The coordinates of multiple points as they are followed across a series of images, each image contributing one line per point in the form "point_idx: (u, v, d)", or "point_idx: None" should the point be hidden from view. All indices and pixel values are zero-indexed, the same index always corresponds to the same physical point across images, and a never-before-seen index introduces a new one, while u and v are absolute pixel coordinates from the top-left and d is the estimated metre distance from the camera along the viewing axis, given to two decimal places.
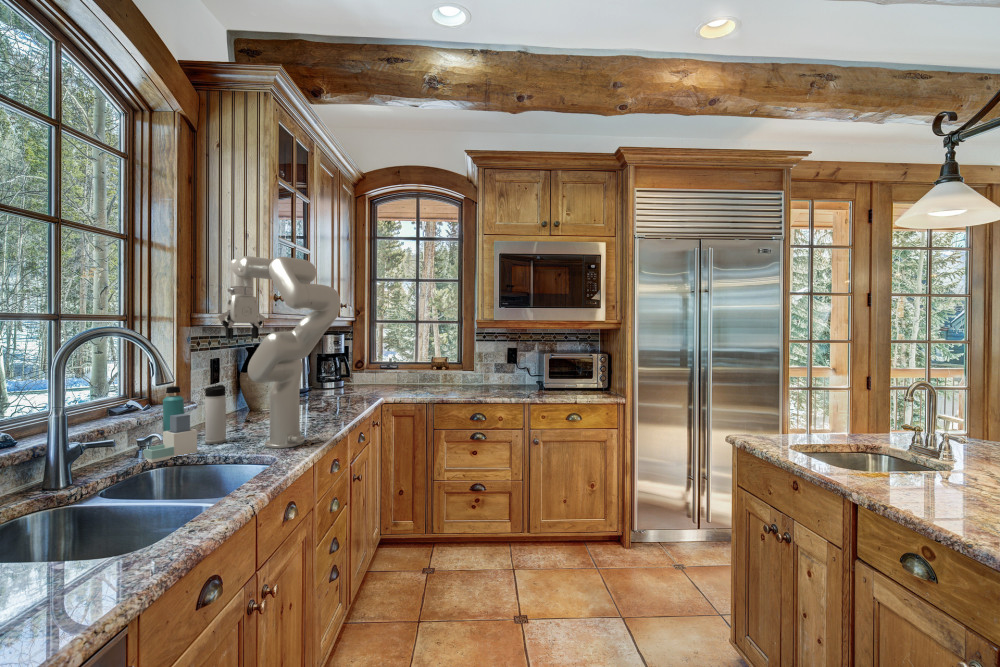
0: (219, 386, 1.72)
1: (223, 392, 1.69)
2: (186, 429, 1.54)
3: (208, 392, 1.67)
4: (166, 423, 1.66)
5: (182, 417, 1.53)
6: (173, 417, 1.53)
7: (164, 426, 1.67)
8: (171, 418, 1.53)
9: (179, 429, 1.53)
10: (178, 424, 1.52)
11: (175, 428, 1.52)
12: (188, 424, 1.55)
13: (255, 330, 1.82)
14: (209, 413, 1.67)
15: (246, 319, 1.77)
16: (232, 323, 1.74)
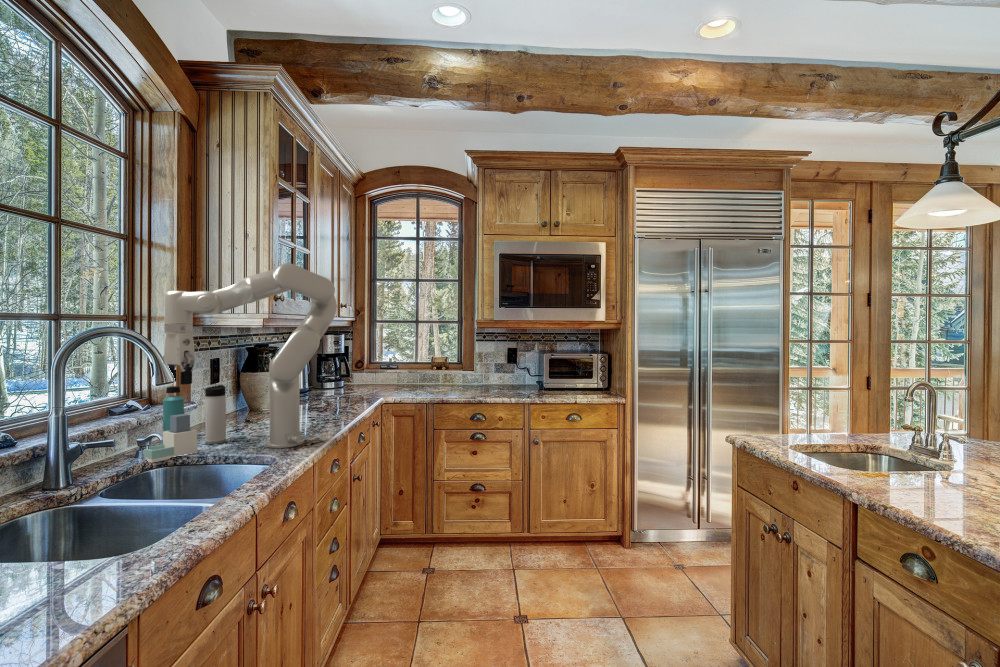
0: (219, 386, 1.72)
1: (223, 392, 1.69)
2: (186, 429, 1.54)
3: (208, 392, 1.67)
4: (166, 423, 1.66)
5: (182, 417, 1.53)
6: (173, 417, 1.53)
7: (164, 426, 1.67)
8: (171, 418, 1.53)
9: (179, 429, 1.53)
10: (178, 424, 1.52)
11: (175, 428, 1.52)
12: (188, 424, 1.55)
13: (174, 372, 1.57)
14: (209, 413, 1.67)
15: None
16: None
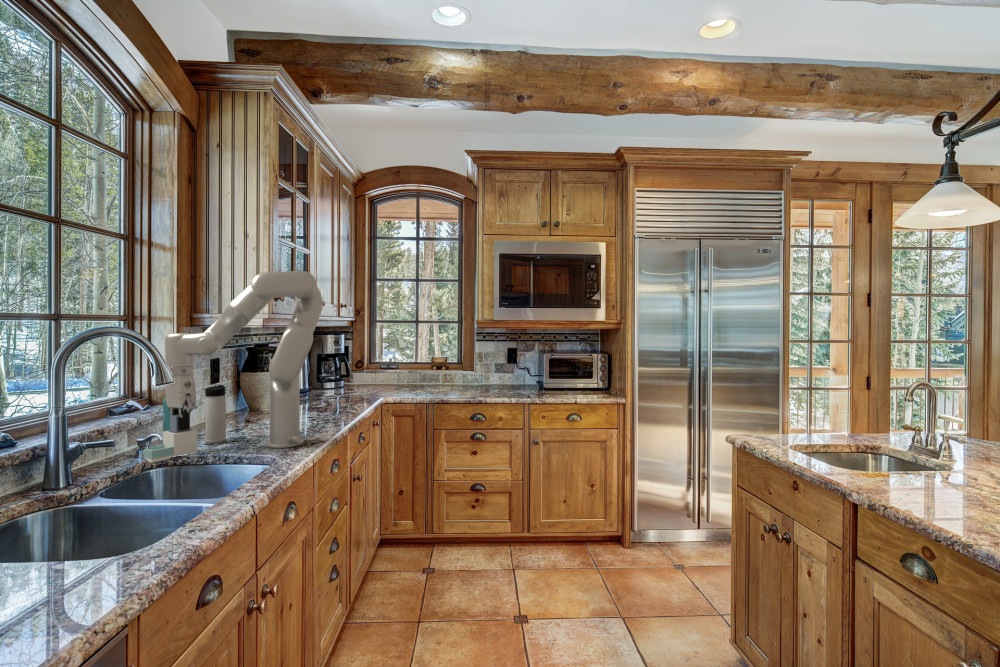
0: (219, 386, 1.72)
1: (223, 392, 1.69)
2: None
3: (208, 392, 1.67)
4: (166, 423, 1.66)
5: None
6: (173, 417, 1.53)
7: (164, 426, 1.67)
8: (171, 418, 1.53)
9: None
10: None
11: (174, 428, 1.52)
12: None
13: None
14: (209, 413, 1.67)
15: None
16: None
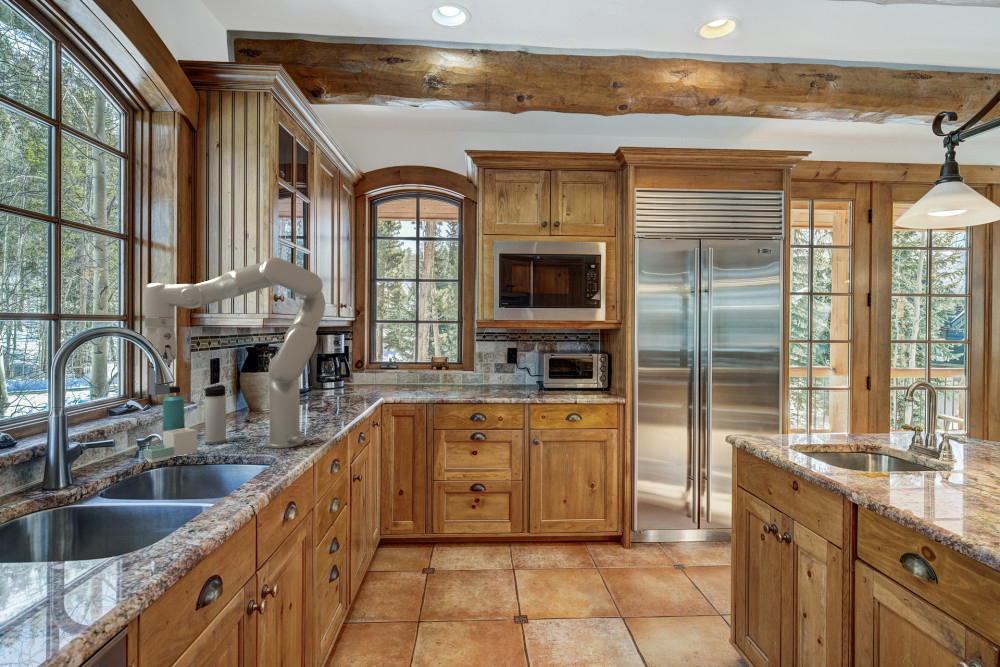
0: (219, 386, 1.72)
1: (223, 392, 1.69)
2: None
3: (208, 392, 1.67)
4: (166, 423, 1.66)
5: None
6: (152, 369, 1.48)
7: (164, 426, 1.67)
8: (150, 371, 1.48)
9: None
10: None
11: (153, 380, 1.47)
12: None
13: None
14: (209, 413, 1.67)
15: None
16: None
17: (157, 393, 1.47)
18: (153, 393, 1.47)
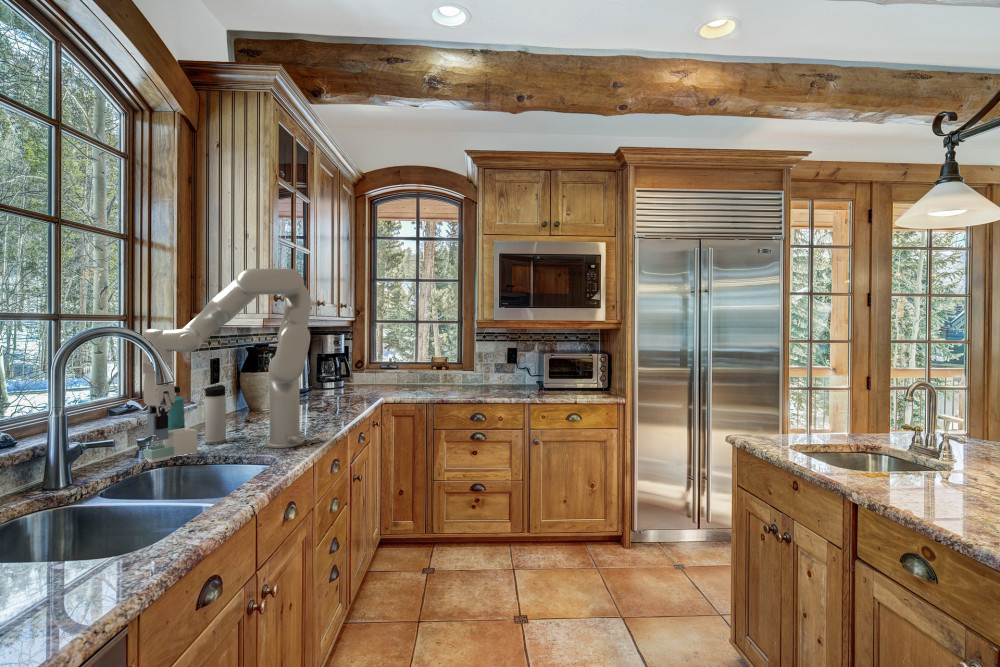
0: (219, 386, 1.72)
1: (223, 392, 1.69)
2: None
3: (208, 392, 1.67)
4: None
5: None
6: (150, 415, 1.47)
7: None
8: (148, 417, 1.48)
9: None
10: (155, 422, 1.47)
11: (152, 427, 1.47)
12: None
13: None
14: (209, 413, 1.67)
15: None
16: None
17: (156, 439, 1.47)
18: (152, 439, 1.47)
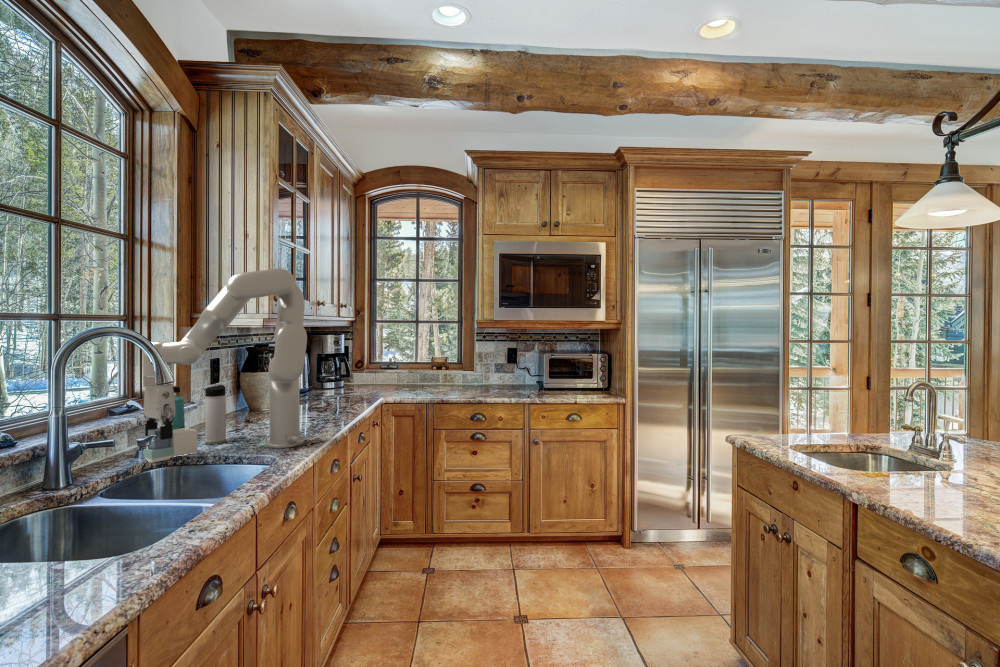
0: (219, 386, 1.72)
1: (223, 392, 1.69)
2: (165, 444, 1.49)
3: (208, 392, 1.67)
4: None
5: None
6: (151, 432, 1.47)
7: None
8: (149, 433, 1.48)
9: (158, 444, 1.47)
10: (156, 439, 1.47)
11: (153, 443, 1.47)
12: (167, 439, 1.50)
13: (155, 425, 1.52)
14: (209, 413, 1.67)
15: None
16: None
17: None
18: None
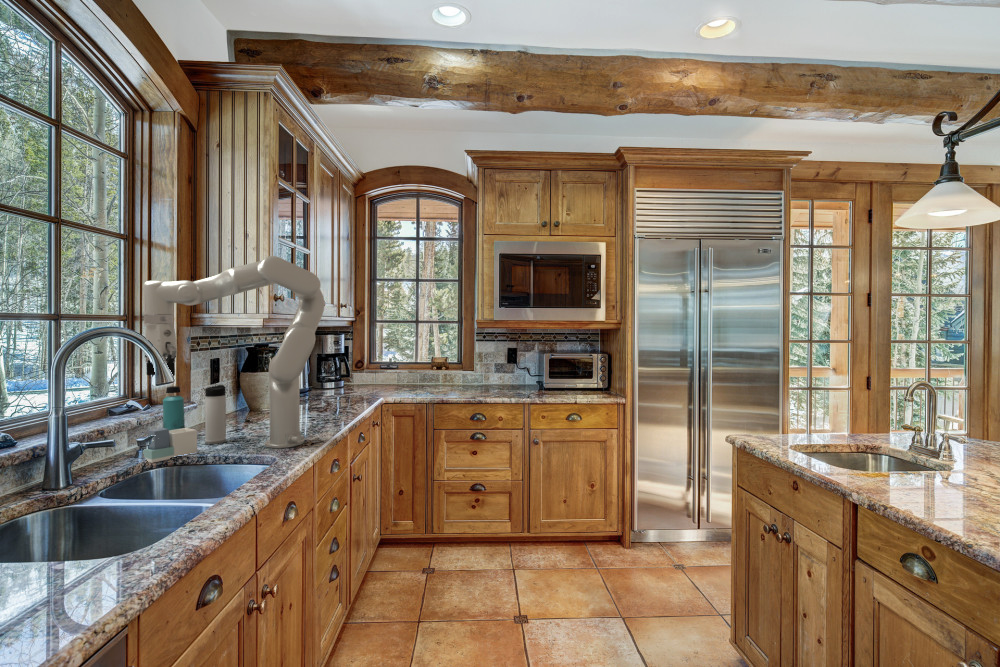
0: (219, 386, 1.72)
1: (223, 392, 1.69)
2: (165, 444, 1.49)
3: (208, 392, 1.67)
4: (166, 423, 1.66)
5: (161, 432, 1.48)
6: (151, 432, 1.47)
7: (164, 426, 1.67)
8: (149, 433, 1.48)
9: (158, 444, 1.47)
10: (156, 439, 1.47)
11: (153, 443, 1.47)
12: (167, 439, 1.50)
13: None
14: (209, 413, 1.67)
15: None
16: None
17: None
18: None
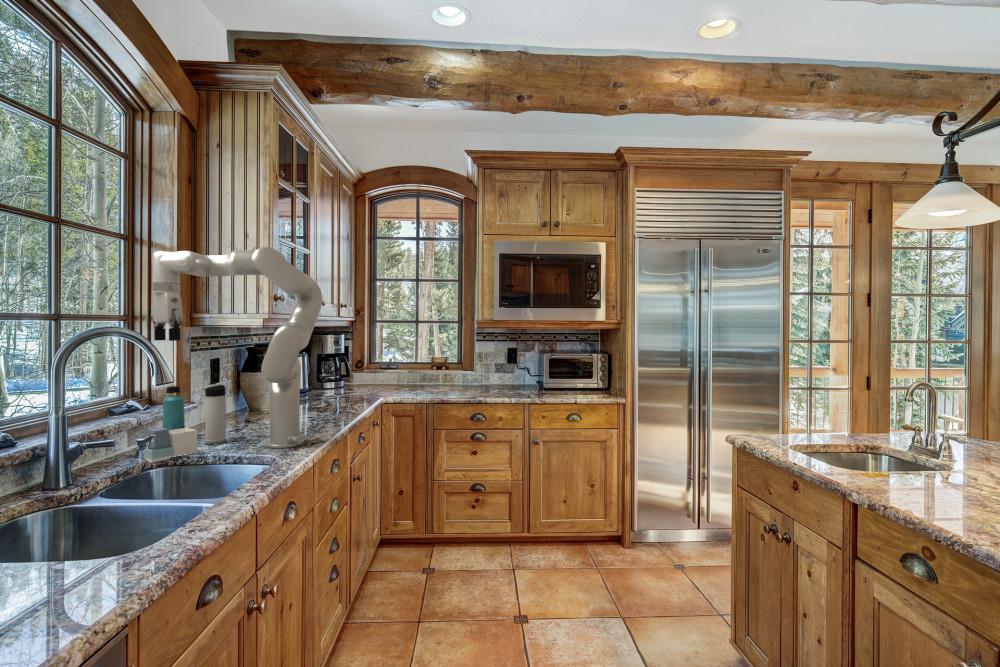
0: (219, 386, 1.72)
1: (223, 392, 1.69)
2: (165, 444, 1.49)
3: (208, 392, 1.67)
4: (166, 423, 1.66)
5: (161, 432, 1.48)
6: (151, 432, 1.47)
7: (164, 426, 1.67)
8: (149, 433, 1.48)
9: (158, 444, 1.47)
10: (156, 439, 1.47)
11: (153, 443, 1.47)
12: (167, 439, 1.50)
13: (163, 331, 1.64)
14: (209, 413, 1.67)
15: None
16: None
17: None
18: None
